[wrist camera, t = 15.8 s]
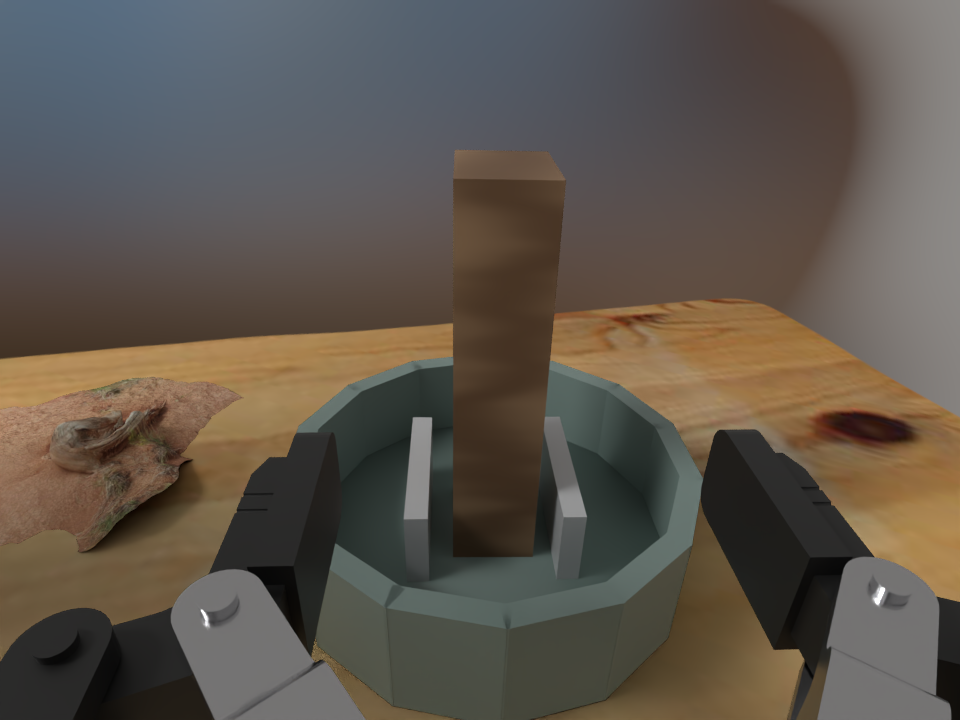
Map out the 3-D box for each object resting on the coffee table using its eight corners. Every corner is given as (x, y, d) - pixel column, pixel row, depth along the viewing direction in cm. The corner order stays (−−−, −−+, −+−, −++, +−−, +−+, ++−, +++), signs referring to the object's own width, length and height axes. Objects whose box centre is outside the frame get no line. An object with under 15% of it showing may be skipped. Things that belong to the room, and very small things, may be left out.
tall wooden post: (452, 557, 23) (453, 178, 16) (454, 486, 27) (455, 149, 20) (532, 556, 23) (566, 180, 16) (523, 486, 27) (547, 151, 20)
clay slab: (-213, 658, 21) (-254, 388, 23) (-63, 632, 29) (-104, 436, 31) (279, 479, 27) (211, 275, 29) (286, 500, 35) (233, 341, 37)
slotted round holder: (248, 735, 18) (221, 635, 16) (334, 430, 32) (325, 353, 30) (744, 720, 19) (782, 623, 17) (622, 428, 32) (634, 353, 30)
